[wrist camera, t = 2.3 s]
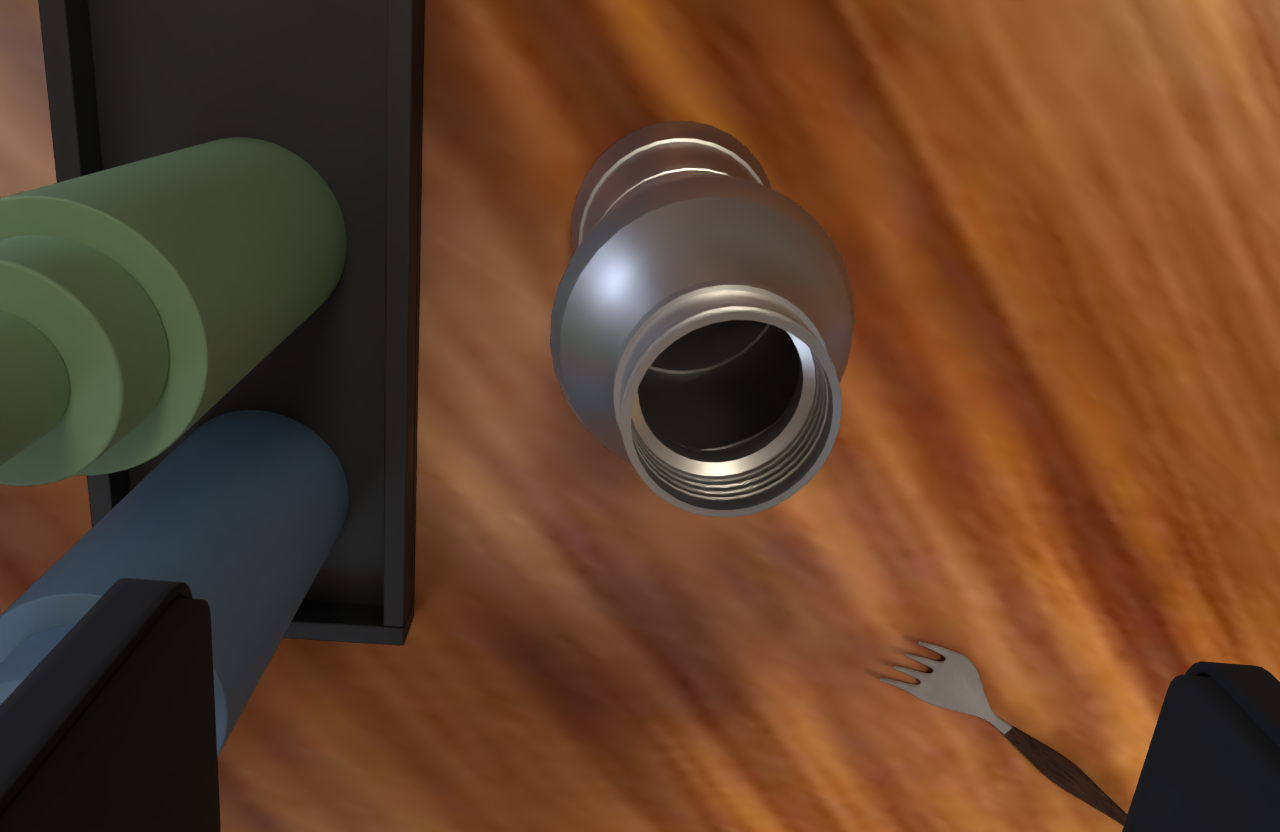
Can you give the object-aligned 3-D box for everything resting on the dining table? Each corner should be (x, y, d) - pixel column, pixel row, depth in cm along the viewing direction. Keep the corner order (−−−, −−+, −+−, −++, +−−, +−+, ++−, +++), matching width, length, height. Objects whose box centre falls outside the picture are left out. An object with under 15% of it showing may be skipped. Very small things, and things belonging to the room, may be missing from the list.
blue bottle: (167, 402, 37) (-292, 785, 18) (348, 416, 37) (82, 804, 18) (178, 561, 39) (-221, 1049, 20) (349, 573, 39) (112, 1063, 21)
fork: (1121, 848, 46) (1143, 883, 44) (864, 655, 42) (876, 684, 40) (1166, 811, 45) (1190, 845, 43) (909, 611, 41) (923, 638, 40)
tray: (44, -292, 30) (5, -315, 28) (429, -250, 31) (417, -269, 29) (126, 598, 40) (101, 627, 38) (414, 616, 41) (404, 646, 39)
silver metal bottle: (804, 204, 36) (1019, 395, 17) (670, 344, 37) (730, 661, 18) (667, 71, 34) (736, 120, 15) (533, 224, 36) (447, 438, 17)
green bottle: (147, 128, 34) (-438, 248, 15) (347, 146, 34) (21, 285, 15) (161, 318, 36) (-334, 632, 17) (348, 333, 36) (65, 656, 17)
